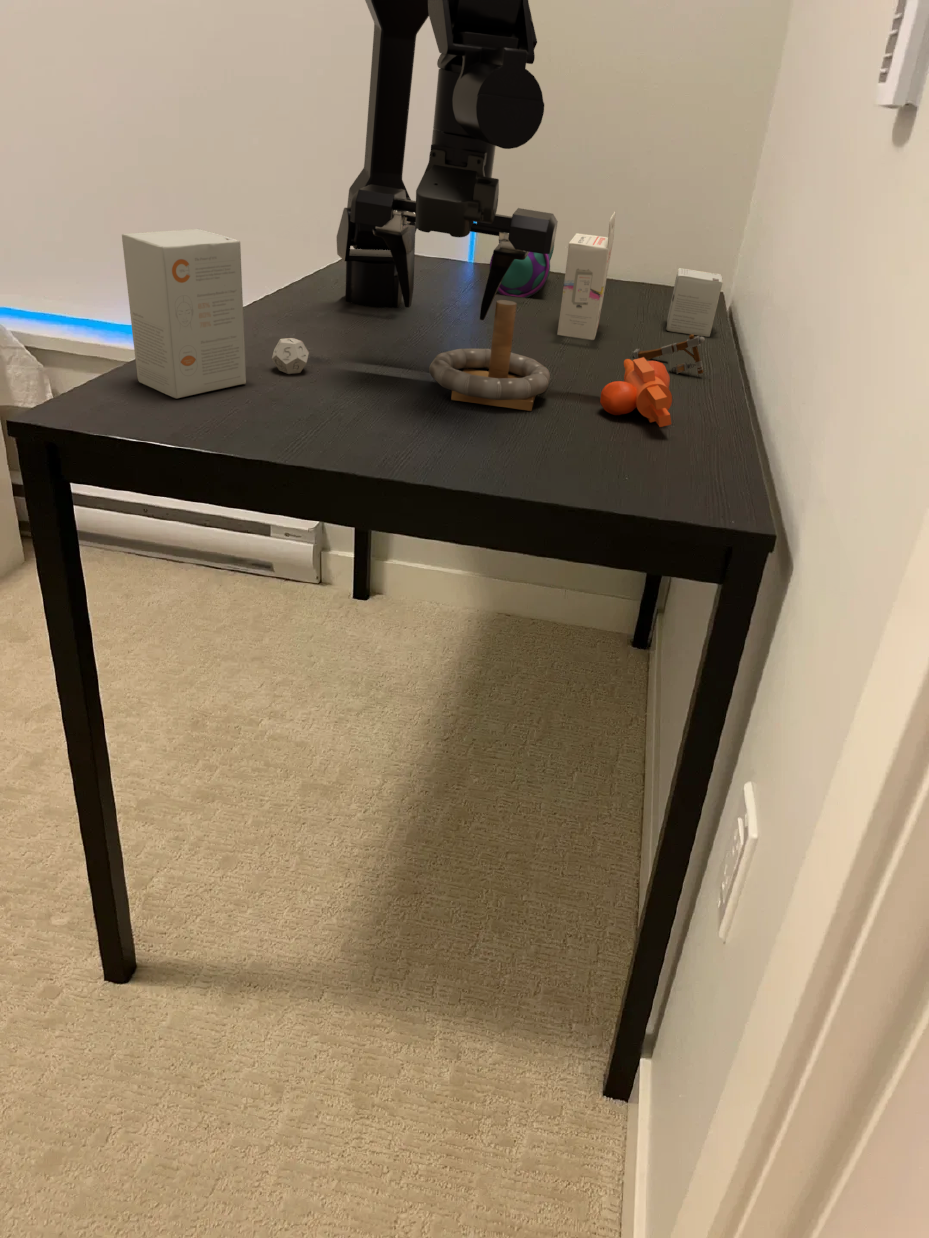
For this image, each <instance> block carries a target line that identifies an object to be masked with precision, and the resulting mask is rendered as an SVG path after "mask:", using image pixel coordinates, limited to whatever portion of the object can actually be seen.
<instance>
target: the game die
mask: <svg viewBox="0 0 929 1238" xmlns="http://www.w3.org/2000/svg"><path fill="white" fill-rule="evenodd" d="M309 353H310V351H309V350H308V349H307V347H306V346H305V343H304V342H303V340H300V339H297V338H294V337H288V338H285V337H284V338H280V339H279V340H278V342H277V344H276V345H275V347H274V349H273V353H272V357H271V360H272V362H273V363H274V365H275V367H276V368H277V370H278V371H279V372H283V373H285V374H288V375H291V374H301V372H302V371H303V369H304V368H305V366H306V365H307V362H308V358H309Z"/></svg>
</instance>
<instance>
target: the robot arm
mask: <svg viewBox="0 0 929 1238" xmlns="http://www.w3.org/2000/svg"><path fill="white" fill-rule="evenodd" d="M364 2H365V3H366V6H367V8H368V11H369V13H370V16H371V18H372V21H373V39H372V50H371V51H372V52H371V67H370V78H369V79H370V80H369V92H368V93H369V94H368V105H367V106H368V107H367V108H368V109H367V122H366V136H365V148H364V149H365V150H364V163H363V168H362V169H361V171H360V173H359V174H358V175H357V177H356V178H355V179H354V181H353V182H352V184H351V185H350V187H349V189H348V195H347V206H346V207H344V208H343V210H342V214H341V216H340V217H341V218H340V222H339V224H338V225H339V226H338V229H337V233H336V254H337V256H338V257H339V258H340V259H342V261H344V262H345V293H344V296H345V297H344V301H345V302H346V303H351V304H354V305H357V306H361V307H365V308H389V309H392V308H394V309H398V308H399V307H400V306H401V305H402V300H403V303H404V305H403V306H404V307H405V308H410V307H411V306H412V301H413V296H414V285H415V284H414V283H415V257H416V256H415V254H416V250H415V249H416V232H417V230H418V231H420V232H423V233H427V234H429V233H430V232H431V233H432V232H437V233H440V234H441V233H442V234H448V235H449V236H451V237H453V238H465V237H467V236H469V235H470V233H471V232H472V233H476V234H483V235H489V236H495V237H498V245H497V246H496V247H494V249H493V251H492V255H493V257H492V256H491V257H492V263H491V268H490V267H489V269H490V271H489V272H488V276H487V281H486V284H485V287H484V288H485V289H484V292H483V296H482V301H481V304H480V313H479V321H484V320H485V319H486V317H487V315H488V312H489V310H490V309H491V306H492V304H493V301H494V299H495V297H496V295H497V293H498V291H497V290H498V288H499V286H500V284H501V282H502V280H503V278H504V276H505V274H506V272H507V270H508V269H509V267H510V266H511V264H512V262H513V261H514V259H518V260H524V259H525V258H526V257H527V255H528V253H529V252H534V253H540V254H550V252H551V250H552V248H553V246H554V247H555V241H556V235H557V230H558V229H557V228H558V222H559V221H558V220H557V218H556V216H555V214H554V213H552V212H546V211H540V210H534V209H527V208H520V207H518V208H517V209H516V210H515V211H514V212H513V213H512V216H511V215H504V214H498V213H497V210H498V204H499V195H500V179H499V178H495V177H493V170H494V162H495V155H496V154H495V153H496V147H498V148H501V149H504V150H511V149H517V148H519V147H522V146H524V145H526V144H527V143H528V142H529V141H530V140H531V139H532V138H533V137H534V136H535V135H536V133H537V132H538V130H539V128H540V126H541V124H542V122H543V118H544V113H545V102H544V97H543V91H542V89H541V86H540V83H539V82H538V79H537V78H536V77H535V75H534V74H532V73H531V72H530V71H529V70H528V69H527V68H526V67H527V64H528V65H533V64H534V62H535V59H536V57H535V56H536V55H535V48H536V47H537V44H538V39H537V35H536V29H535V25H534V21H533V17H532V12H531V8H530V7H531V6H530V3H529V2H530V1H529V0H364ZM427 19H429V22H430V24H431V28H432V33H433V35H434V40H435V42H436V46H437V49H438V52H439V54H440V55H439V57H438V59H437V61H436V65H437V68H438V72H437V82H436V83H437V84H436V93H435V105H434V115H433V126H432V128H433V129H432V136H431V144H430V151H429V158H428V163H427V165H426V168H425V170H424V173H423V175H422V177H421V178H420V181H419V183H418V185H417V188H416V190H415V200H413V199H411V197H410V194H409V191H408V190H407V188H406V185H405V182H404V181H403V173H404V163H405V152H406V141H407V134H408V133H407V132H408V122H409V112H410V102H411V91H412V84H413V83H412V82H413V72H414V71H413V70H414V62H415V53H416V43H417V35H418V33H419V32H420V30H421V28H422V27H423V26H424V25H425V23H426V21H427ZM499 241H501V242H500V243H499ZM351 247H353V248H351Z"/></svg>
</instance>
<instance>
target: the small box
mask: <svg viewBox="0 0 929 1238" xmlns="http://www.w3.org/2000/svg"><path fill="white" fill-rule="evenodd" d="M121 241H122V251H123V259H124V269H125V278H126V286H127V288H126V289H127V295H128V297H127V298H128V305H129V314H130V324H131V332H132V333H131V334H132V342H133V350H134V358H135V368H136V376H137V380H138V383H140V384H143V385H144V386H147V387H149V388H151V389H153V390H156V391H158V392H160V393H162V394H165V395H166V396H169V397H170V398H173V399H180V398H185V397H189V396H193V395H194V396H195V395H198V394H203V393H207V392H213V391H217V390H221V389H225V388H230V387H235V386H240V385H245V384H247V372H246V371H247V369H246V346H245V345H246V344H245V324H244V323H245V321H244V320H245V319H244V302H243V301H244V300H243V298H244V297H243V276H242V275H243V273H242V253H241V252H242V249H241V241H240V240H238V239H235V238H234V237H230V236H226V235H224V234H221V233H217V232H212V231H209V230H205V229H200V228H191V229H174V230H162V231H161V230H160V231H148V232H147V231H146V232H133V233H122V234H121Z"/></svg>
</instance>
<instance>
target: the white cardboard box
mask: <svg viewBox="0 0 929 1238" xmlns="http://www.w3.org/2000/svg"><path fill="white" fill-rule="evenodd" d="M723 284H724V283H723V276H722V274H721V273H715V272H708V271H702V270H695V269H689V268H683V267H681V268H680V267H679V268H678V269H677V272H676V276H675V280H674V286H673V291H672V295H671V300H670V304H669V309H668V314H667V317H666V328H665V330H666V331H668V332H673V333H677V334H687V335H691V334H693V335H694V336H699V337H704V338H710V337H711V332H712V329H713V325H714V320H715V316H716V312H717V308H718V304H719V299H720V295H721V291H722V287H723Z"/></svg>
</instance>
